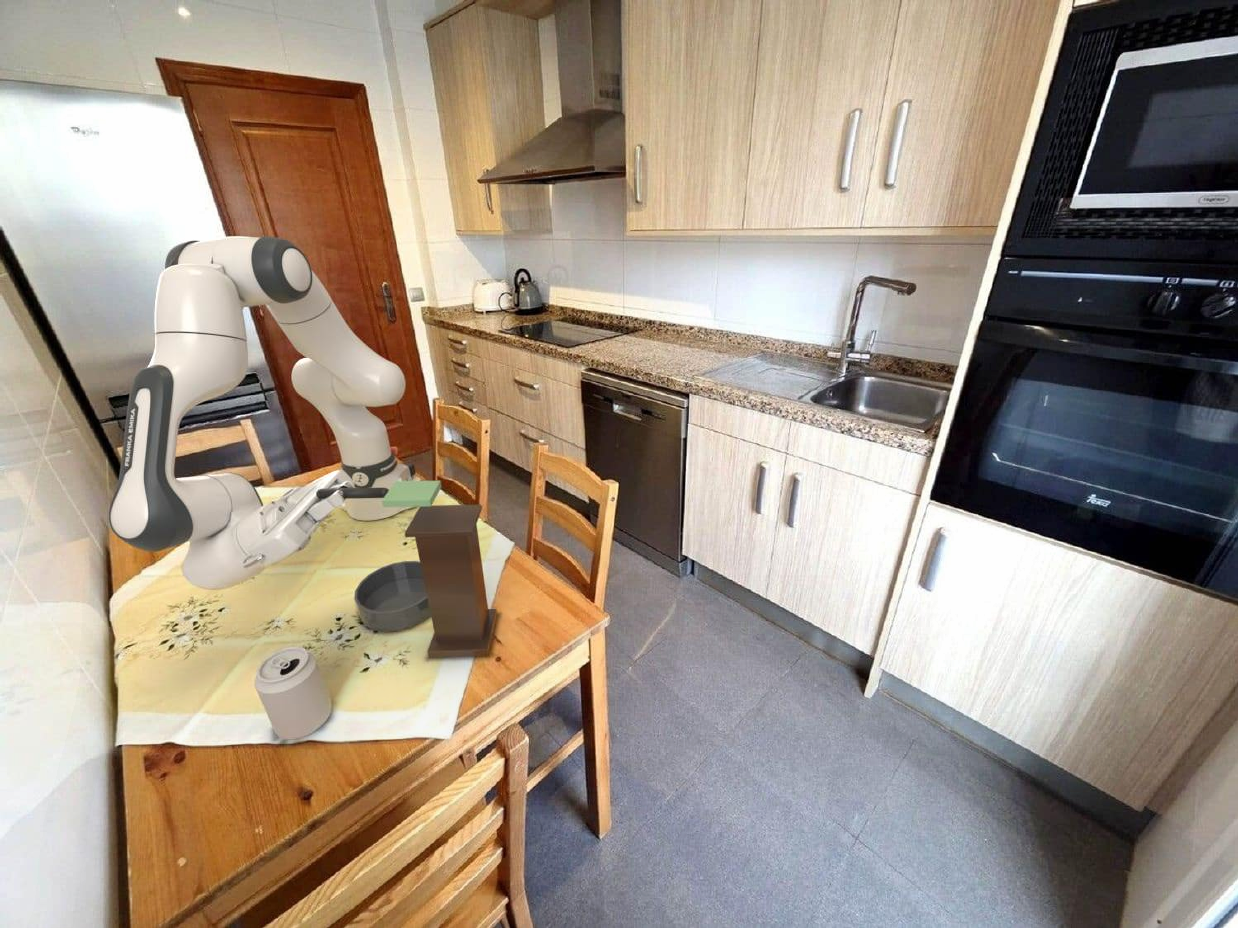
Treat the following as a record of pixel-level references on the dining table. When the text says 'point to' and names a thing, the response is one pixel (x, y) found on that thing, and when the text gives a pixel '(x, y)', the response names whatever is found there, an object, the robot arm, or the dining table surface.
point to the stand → (453, 579)
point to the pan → (393, 597)
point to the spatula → (393, 493)
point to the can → (293, 692)
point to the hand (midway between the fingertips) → (346, 490)
